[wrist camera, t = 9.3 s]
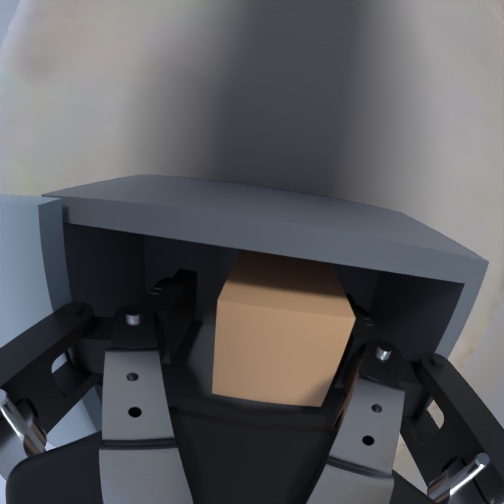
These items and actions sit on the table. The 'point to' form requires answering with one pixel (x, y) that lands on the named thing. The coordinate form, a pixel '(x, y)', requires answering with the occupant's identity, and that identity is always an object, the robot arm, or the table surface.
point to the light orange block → (280, 329)
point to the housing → (268, 241)
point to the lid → (39, 291)
